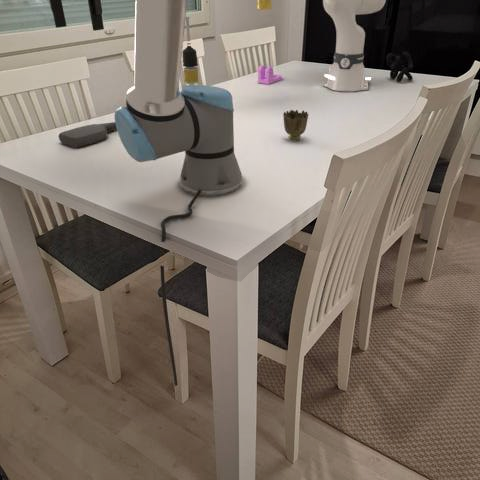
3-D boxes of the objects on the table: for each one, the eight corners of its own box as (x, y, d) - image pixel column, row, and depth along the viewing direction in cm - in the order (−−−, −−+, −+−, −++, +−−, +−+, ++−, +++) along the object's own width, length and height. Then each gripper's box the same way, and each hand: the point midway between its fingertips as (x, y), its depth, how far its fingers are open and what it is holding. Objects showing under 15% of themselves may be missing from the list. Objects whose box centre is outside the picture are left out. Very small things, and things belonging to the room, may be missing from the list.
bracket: (268, 84, 198) (268, 67, 194) (258, 82, 201) (258, 66, 197) (284, 78, 207) (284, 62, 203) (274, 77, 209) (274, 61, 206)
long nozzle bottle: (202, 103, 173) (196, 17, 157) (188, 104, 171) (181, 18, 155) (197, 99, 177) (192, 15, 161) (184, 101, 176) (177, 16, 160)
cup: (278, 141, 135) (279, 114, 131) (287, 133, 140) (288, 108, 136) (301, 144, 132) (303, 118, 128) (310, 137, 137) (312, 111, 133)
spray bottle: (57, 141, 138) (121, 123, 154) (77, 149, 132) (142, 129, 148) (55, 132, 136) (120, 114, 152) (75, 139, 130) (141, 120, 146)
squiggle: (400, 92, 202) (376, 71, 205) (417, 76, 202) (392, 56, 205) (405, 81, 191) (380, 59, 194) (423, 64, 191) (397, 42, 194)
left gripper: (112, -81, 95) (127, 29, 106) (38, -74, 106) (59, 24, 118) (84, -83, 89) (103, 33, 101) (9, -76, 101) (34, 27, 112)
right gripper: (238, -50, 147) (238, -2, 154) (277, -52, 133) (276, 1, 140) (253, -50, 150) (253, -3, 158) (293, -52, 136) (291, -1, 143)
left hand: (79, 28), depth 109 cm, fingers open, 13 cm apart
